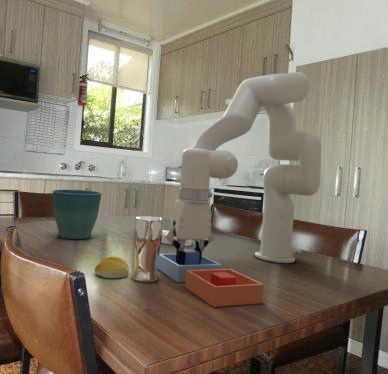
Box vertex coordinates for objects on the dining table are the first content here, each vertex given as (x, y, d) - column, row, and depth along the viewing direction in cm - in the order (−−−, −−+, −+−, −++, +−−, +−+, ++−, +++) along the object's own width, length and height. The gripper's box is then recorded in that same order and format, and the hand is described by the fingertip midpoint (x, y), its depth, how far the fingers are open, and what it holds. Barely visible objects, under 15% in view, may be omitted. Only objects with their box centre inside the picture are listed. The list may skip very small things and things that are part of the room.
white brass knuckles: (197, 241, 145) (186, 248, 132) (154, 235, 152) (140, 240, 139) (198, 233, 145) (187, 238, 132) (155, 227, 152) (141, 231, 139)
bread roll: (91, 277, 89) (92, 260, 89) (101, 267, 98) (102, 253, 98) (124, 281, 88) (125, 264, 88) (131, 271, 97) (132, 256, 96)
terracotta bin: (229, 285, 90) (230, 268, 90) (262, 303, 79) (264, 284, 79) (184, 287, 86) (186, 270, 86) (213, 307, 75) (215, 287, 75)
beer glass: (150, 285, 86) (154, 221, 85) (125, 278, 90) (129, 217, 89) (164, 278, 92) (168, 218, 91) (140, 272, 96) (144, 215, 95)
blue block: (191, 263, 100) (192, 248, 100) (198, 267, 96) (199, 252, 96) (177, 263, 98) (179, 248, 98) (185, 267, 95) (186, 252, 95)
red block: (224, 289, 85) (226, 272, 85) (235, 295, 81) (236, 277, 81) (209, 290, 84) (211, 272, 83) (219, 296, 80) (221, 277, 80)
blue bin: (196, 267, 105) (197, 253, 105) (220, 280, 94) (221, 264, 94) (157, 268, 101) (158, 253, 101) (177, 282, 90) (178, 265, 89)
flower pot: (75, 244, 125) (79, 194, 125) (39, 235, 135) (41, 189, 134) (108, 237, 141) (111, 193, 140) (73, 230, 150) (76, 189, 150)
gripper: (213, 196, 103) (208, 261, 104) (158, 193, 97) (153, 262, 98) (229, 198, 96) (223, 268, 97) (171, 195, 90) (165, 270, 91)
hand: (188, 264), depth 97 cm, fingers closed on blue block, 4 cm apart
